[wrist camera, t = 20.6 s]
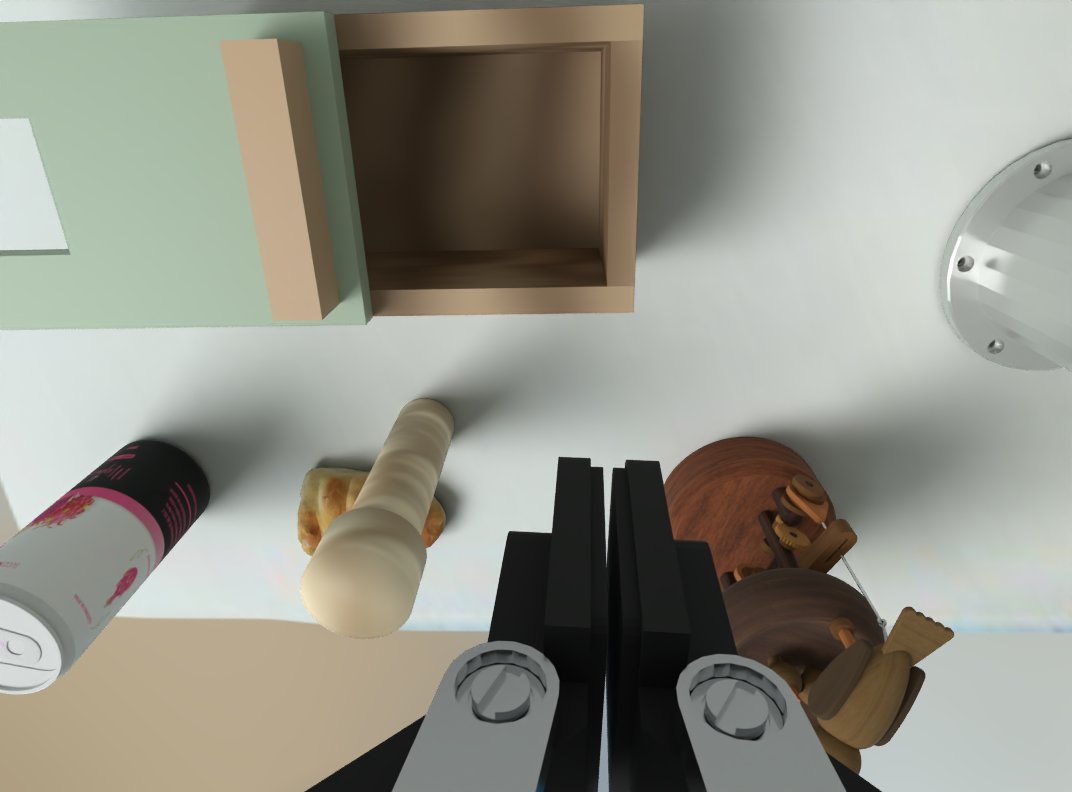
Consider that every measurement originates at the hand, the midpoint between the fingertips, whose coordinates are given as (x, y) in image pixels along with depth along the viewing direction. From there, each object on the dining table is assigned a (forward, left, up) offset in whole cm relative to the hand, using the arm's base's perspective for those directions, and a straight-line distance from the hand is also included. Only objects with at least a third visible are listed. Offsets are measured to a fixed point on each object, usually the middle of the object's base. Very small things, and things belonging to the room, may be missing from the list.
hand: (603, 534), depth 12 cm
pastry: (+14, +18, -29) cm, 37 cm away
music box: (-10, +19, -29) cm, 36 cm away
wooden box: (+8, -4, -29) cm, 30 cm away
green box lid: (+19, -4, -20) cm, 28 cm away
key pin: (+10, +12, -29) cm, 33 cm away
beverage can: (+28, +16, -29) cm, 43 cm away
